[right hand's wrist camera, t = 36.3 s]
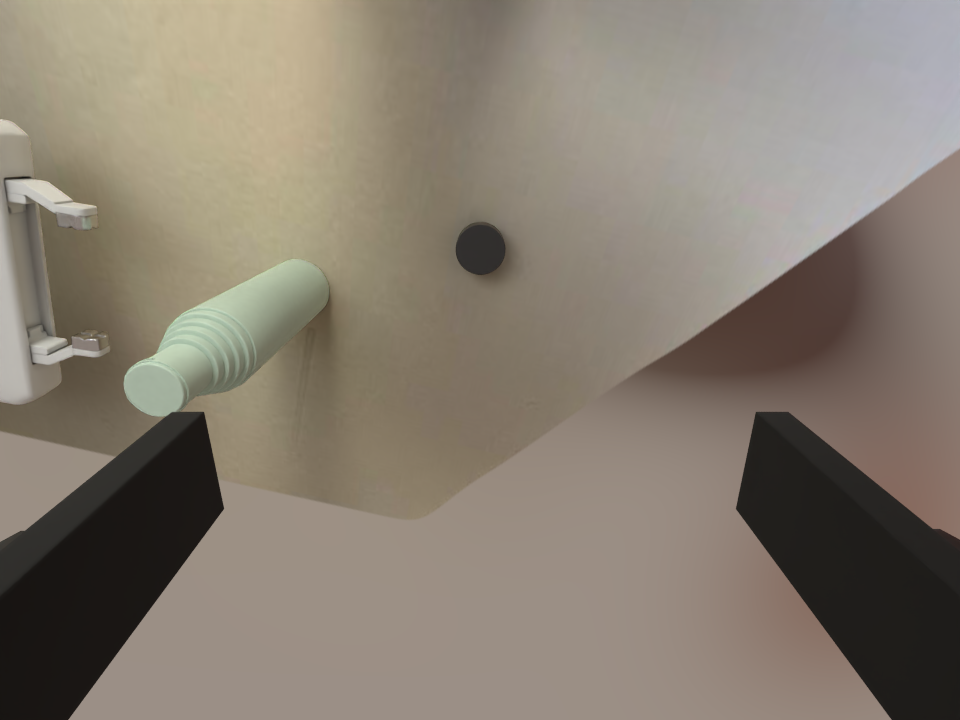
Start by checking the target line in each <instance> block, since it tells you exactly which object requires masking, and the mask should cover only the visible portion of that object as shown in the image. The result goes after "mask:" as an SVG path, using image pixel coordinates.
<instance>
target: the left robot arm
mask: <svg viewBox="0 0 960 720" xmlns="http://www.w3.org/2000/svg"><path fill="white" fill-rule="evenodd" d="M39 204H40V205H42V206H43V207H45V208H46V209H48V210H49V211H51V212H53V213H54V214H56V218H57V224H58V226H59V227H65V228H71V227H73V228H74V229H77V230H91V229H92V228H95V229H96V228H99V224H98V213H97V207H96V206H93V205H87V204H81V203H76V202H73V200H72V199H71V198H69V197H68V196H67V195H65V194H64V193H63V192H61V191H60V190H59V189H57V188H56V187H55V186H53V185H52V184H51V183H49V182H48V181H42V180H36V179H35V173H34V165H33V158H32V150H31V142H30V138H29V136H28V135H27V134H26V133H25V132H24V131H23V130H22V129H21V128H19V127H18V126H17V125H16V124H15V123H13V122H12V121H8V120H2V119H0V402H4V403H9V404H16V405H22V404H26V403H30V402H32V401H34V400H36V399H38V398H40V397H42V396H44V395H45V394H47V393H48V392H50V391H51V390H53V389H54V388H55V387H57V386H58V385H59V384H60V383H61V381H62V375H61V368H60V361H62V360H65V359H67V358H70V357H72V356H75V355H79V356H86V357H93V358H95V357H101V356H103V355H105V354H107V353H109V352H110V342H109V334H108V332H104V331H102V332H100V333H99V332H98V331H97V330H90V329H87V330H85V331H82V332H81V334H76V335H74V336H72V337H71V339H72V345H70V346H67V345H68V341H67V339H65V338H58V337H56V330H55V323H54V315H53V308H52V301H51V293H50V285H49V278H48V271H47V263H46V256H45V248H44V241H43V233H42V226H41V218H40V211H39Z"/></svg>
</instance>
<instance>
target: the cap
mask: <svg viewBox="0 0 960 720" xmlns="http://www.w3.org/2000/svg"><path fill="white" fill-rule="evenodd" d="M456 255H457V259H458V261H459V263H460V264H461V265H462V267H463V268H464V269H466V270H467V271H469V272H471V273H473V274H478V275H482V274H488V273H490V272H492V271H494V270H495V269H497V268H498V267H499V266H500V264H501V263H502V261H503V259H504V256H505V244H504V240H503V237H502V235H501V233H500V232H499V231H498V229H497V228H495V227H494V226H493V225H491V224H488V223H485V222H476V223H473V224H470V225H468V226H467V227H466V228H464V229H463V231H462V232H461V233H460V235H459V237H458V240H457V244H456Z"/></svg>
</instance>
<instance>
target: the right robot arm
mask: <svg viewBox="0 0 960 720" xmlns="http://www.w3.org/2000/svg"><path fill="white" fill-rule="evenodd" d="M223 509H224V506H223V502H222V497H221V492H220V487H219V482H218V477H217V472H216V468H215V463H214V458H213V453H212V448H211V443H210V439H209V434H208V429H207V424H206V419H205V414H204V412H171V413H170V414H169V415H167V416H166V417H165V418H164V419H162V420H161V421H160V422H159V423H158V424H156V425H155V426H154V427H153V428H151V429H150V430H149V431H148V432H146V433H145V434H144V435H143V436H142V437H140V438H139V439H138V440H137V441H135V442H134V443H133V444H132V445H130V446H129V447H128V448H127V449H125V450H124V451H123V452H122V453H121V454H119V455H118V456H117V457H116V458H114V459H113V460H112V461H111V462H109V463H108V464H107V465H106V466H105V467H103V468H102V469H101V470H100V471H98V472H97V473H96V474H95V475H93V476H92V477H91V478H90V479H88V480H87V481H86V482H85V483H83V484H82V485H81V486H80V487H79V488H77V489H76V490H75V491H74V492H72V493H71V494H70V495H69V496H67V497H66V498H65V499H64V500H63V501H61V502H60V503H59V504H58V505H56V506H55V507H54V508H53V509H51V510H50V511H49V512H48V513H46V514H45V515H44V516H43V517H42V518H40V519H39V520H38V521H37V522H35V523H34V524H33V525H32V526H30V527H29V528H28V529H27V530H26V531H20V532H18V533H16V534H14V535H12V536H11V537H9V538H7V539H5V540H3V541H1V542H0V720H68V719H69V718H70V717H71V715H72V714H73V712H74V711H75V710H76V708H77V707H78V706H79V704H80V703H81V702H82V700H83V699H84V698H85V696H86V695H87V694H88V692H89V691H90V690H91V688H92V687H93V685H94V684H95V683H96V681H97V680H98V679H99V677H100V676H101V675H102V673H103V672H104V671H105V669H106V668H107V667H108V665H109V664H110V662H111V661H112V660H113V658H114V657H115V656H116V654H117V653H118V652H119V650H120V649H121V648H122V646H123V645H124V644H125V642H126V641H127V639H128V638H129V637H130V635H131V634H132V633H133V631H134V630H135V629H136V627H137V626H138V625H139V623H140V622H141V621H142V619H143V618H144V616H145V615H146V614H147V612H148V611H149V610H150V608H151V607H152V606H153V604H154V603H155V602H156V600H157V599H158V597H159V596H160V595H161V593H162V592H163V591H164V589H165V588H166V587H167V585H168V584H169V583H170V581H171V580H172V579H173V577H174V576H175V574H176V573H177V572H178V570H179V569H180V568H181V566H182V565H183V564H184V562H185V561H186V560H187V558H188V557H189V556H190V554H191V553H192V551H193V550H194V549H195V547H196V546H197V545H198V543H199V542H200V541H201V539H202V538H203V537H204V535H205V534H206V532H207V531H208V530H209V528H210V527H211V526H212V524H213V523H214V522H215V520H216V519H217V518H218V516H219V515H220V514H221V512H222V511H223ZM736 509H737V511H738V512H739V514H740V515H741V516H742V518H743V519H744V520H745V522H746V523H747V524H748V526H749V527H750V528H751V530H752V531H753V533H754V534H755V535H756V537H757V538H758V539H759V541H760V542H761V543H762V545H763V546H764V547H765V549H766V550H767V551H768V553H769V554H770V555H771V557H772V558H773V560H774V561H775V562H776V564H777V565H778V566H779V568H780V569H781V570H782V572H783V573H784V574H785V576H786V577H787V578H788V580H789V581H790V583H791V584H792V585H793V587H794V588H795V589H796V591H797V592H798V593H799V595H800V596H801V598H802V599H803V600H804V602H805V603H806V604H807V606H808V607H809V608H810V610H811V611H812V612H813V614H814V615H815V616H816V618H817V619H818V620H819V622H820V623H821V625H822V626H823V627H824V629H825V630H826V631H827V633H828V634H829V635H830V637H831V638H832V639H833V641H834V642H835V644H836V645H837V646H838V647H839V649H840V650H841V652H842V653H843V654H844V656H845V657H846V658H847V660H848V661H849V662H850V664H851V665H852V667H853V668H854V669H855V671H856V672H857V673H858V675H859V676H860V677H861V679H862V680H863V681H864V683H865V684H866V685H867V687H868V688H869V690H870V691H871V692H872V694H873V695H874V696H875V698H876V699H877V700H878V702H879V703H880V704H881V706H882V707H883V709H884V710H885V711H886V712H887V714H888V715H889V717H890V718H891V719H892V720H960V540H959V539H957V538H956V537H954V536H952V535H950V534H948V533H946V532H944V531H942V530H941V529H932V528H931V527H930V526H928V525H927V524H926V523H925V522H923V521H922V520H921V519H920V518H918V517H917V516H916V515H915V514H913V513H912V512H911V511H910V510H909V509H907V508H906V507H905V506H904V505H902V504H901V503H900V502H899V501H897V500H896V499H895V498H894V497H893V496H891V495H890V494H889V493H888V492H886V491H885V490H884V489H883V488H881V487H880V486H879V485H878V484H876V483H875V482H874V481H873V480H872V479H870V478H869V477H868V476H867V475H865V474H864V473H863V472H862V471H860V470H859V469H858V468H857V467H856V466H854V465H853V464H852V463H851V462H849V461H848V460H847V459H846V458H844V457H843V456H842V455H841V454H839V453H838V452H837V451H836V450H835V449H833V448H832V447H831V446H830V445H828V444H827V443H826V442H825V441H823V440H822V439H821V438H820V437H818V436H817V435H816V434H815V433H814V432H812V431H811V430H810V429H809V428H807V427H806V426H805V425H804V424H802V423H801V422H800V421H799V420H797V419H796V418H795V417H794V416H793V415H791V414H790V413H789V412H756V414H755V419H754V424H753V429H752V434H751V439H750V443H749V448H748V453H747V458H746V463H745V468H744V472H743V477H742V482H741V487H740V492H739V497H738V502H737V506H736Z"/></svg>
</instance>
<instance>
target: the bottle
mask: <svg viewBox="0 0 960 720" xmlns="http://www.w3.org/2000/svg"><path fill="white" fill-rule="evenodd" d="M328 299H329V285H328V281H327V279H326V277H325V275H324V274H323V273H322V271H321V270H320V269H319V268H318V267H317V266H315V265H314V264H312V263H310V262H308V261H305V260H301V259H291V260H287V261H284V262H282V263H280V264H279V265H277V266H275V267H273V268H271V269H269V270H267V271H265V272H263V273H261V274H259V275H257V276H255V277H253V278H251V279H249V280H247V281H245V282H243V283H241V284H239V285H237V286H235V287H233V288H231V289H229V290H227V291H225V292H223V293H221V294H219V295H217V296H215V297H213V298H212V299H210V300H208V301H206V302H204V303H202V304H200V305H198V306H196V307H194V308H192V309H190V310H188V311H186V312H184V313H182V314H181V315H180V316H178V317H177V318H176V319H175V320H174V322H173V323H172V324H171V325H170V326H169V327H168V329H167V331H166V333H165V336H164V338H163V340H162V342H161V344H160V346H159V349H158V351H157V353H156V354H155V355H153V356H152V357H150V358H146V359H144V360H142V361H139V362H138V363H136V364H134V365H133V366H132V367H131V368H130V369H129V370H128V371H127V373H126V375H125V378H124V383H123V384H124V391H125V393H126V396H127V399H128V400H129V401H130V402H131V404H132V405H134V406H135V407H136V408H137V409H139V410H140V411H142V412H143V413H145V414H148V415H151V416H155V417H166V416H167V415H169V414H170V413H171V412H180V411H181V410H182V409H184V408H185V407H186V405H187V403H188V402H190V401H191V400H192V399H193V398H194V397H196V396H201V395H209V394H215V393H222V392H226V391H229V390H231V389H233V388H236V387H238V386H240V385H242V384H243V383H244V382H246V381H247V380H248V379H249V378H250V377H251V376H252V375H253V374H254V373H255V372H256V371H257V370H258V369H259V368H261V367H262V366H263V365H264V364H265V363H266V362H267V361H268V360H269V359H270V358H271V357H272V356H273V355H274V354H276V353H277V352H278V351H279V350H280V349H281V348H282V347H283V346H284V345H285V344H286V343H287V342H288V341H289V340H291V339H292V338H293V337H294V336H295V335H296V334H297V333H298V332H299V331H300V330H301V329H302V328H303V327H304V326H305V325H307V324H308V323H309V322H310V321H311V320H312V319H313V318H314V317H315V316H316V315H317V314H318V313H319V312H320V311H321V310H323V308H324V307H325V306H326V304H327V302H328Z"/></svg>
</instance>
